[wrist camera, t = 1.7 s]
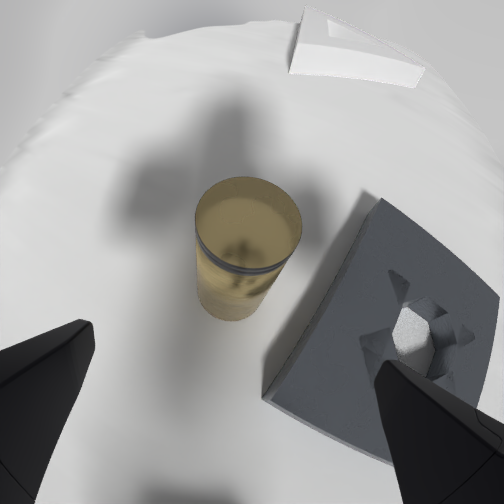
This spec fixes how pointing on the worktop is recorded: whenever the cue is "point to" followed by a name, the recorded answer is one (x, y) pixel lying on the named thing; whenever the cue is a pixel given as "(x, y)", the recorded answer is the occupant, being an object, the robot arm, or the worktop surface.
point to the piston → (242, 244)
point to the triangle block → (348, 52)
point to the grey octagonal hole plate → (386, 331)
